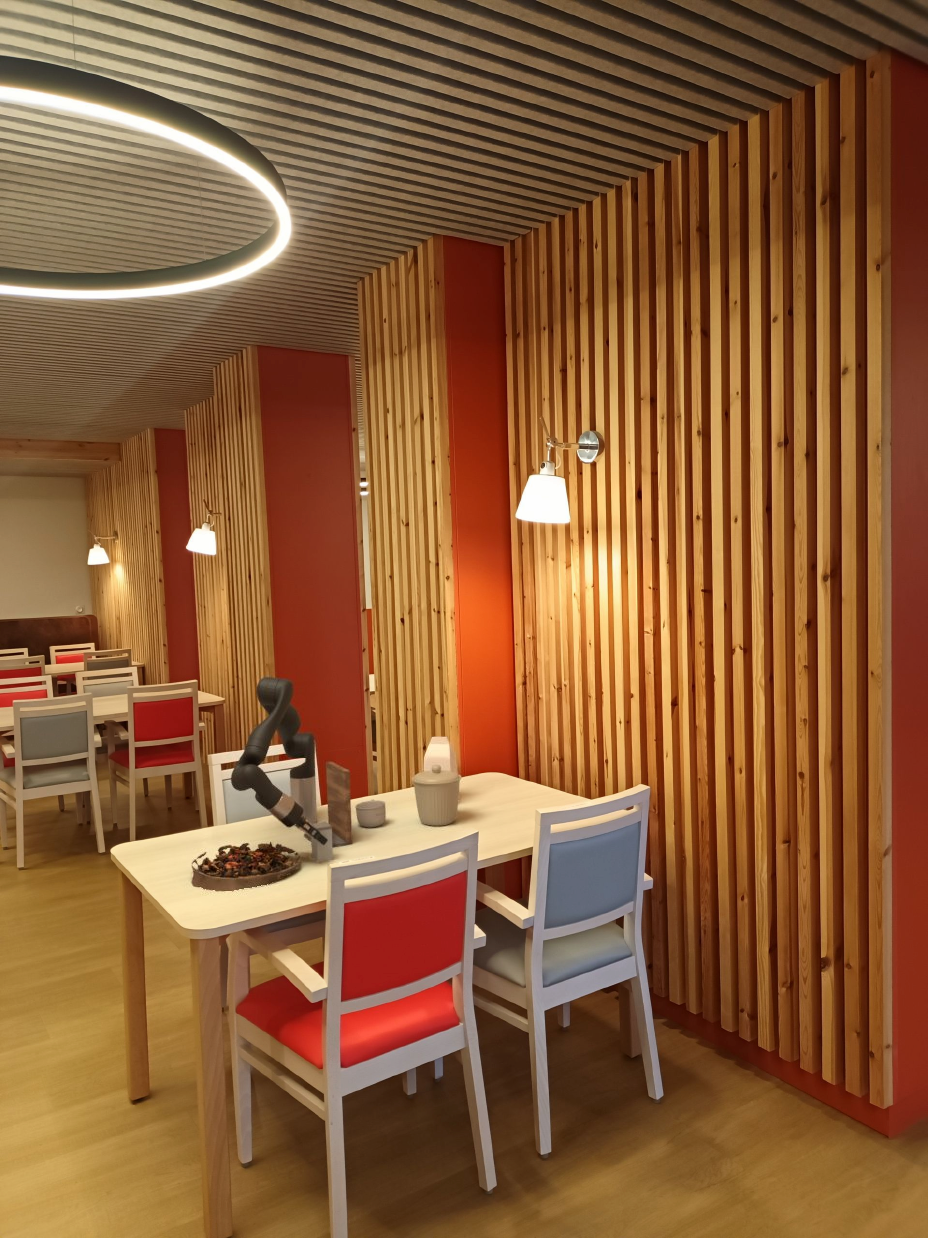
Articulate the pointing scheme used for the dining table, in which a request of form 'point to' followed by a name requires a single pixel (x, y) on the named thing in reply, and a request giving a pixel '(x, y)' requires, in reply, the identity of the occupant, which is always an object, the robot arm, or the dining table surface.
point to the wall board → (338, 805)
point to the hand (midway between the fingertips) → (321, 839)
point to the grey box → (319, 850)
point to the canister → (437, 795)
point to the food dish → (243, 867)
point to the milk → (440, 755)
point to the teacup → (371, 813)
